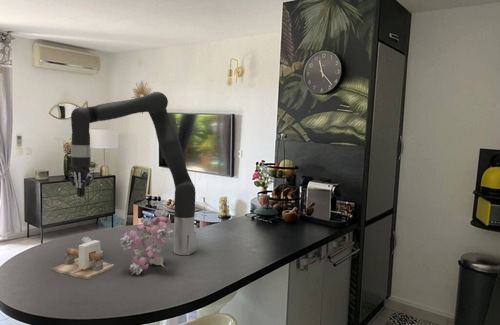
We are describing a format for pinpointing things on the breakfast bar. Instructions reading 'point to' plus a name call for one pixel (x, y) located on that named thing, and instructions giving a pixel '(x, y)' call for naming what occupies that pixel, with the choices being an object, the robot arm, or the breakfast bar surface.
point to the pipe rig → (73, 268)
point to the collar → (84, 253)
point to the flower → (152, 232)
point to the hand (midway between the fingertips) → (80, 196)
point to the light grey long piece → (88, 239)
